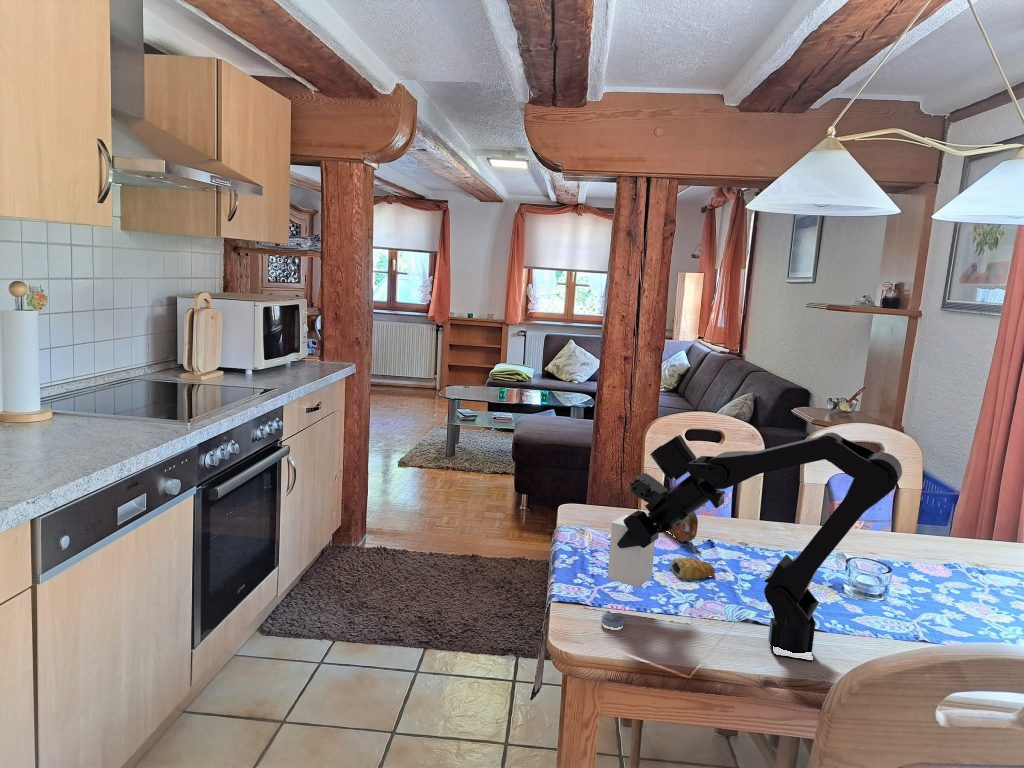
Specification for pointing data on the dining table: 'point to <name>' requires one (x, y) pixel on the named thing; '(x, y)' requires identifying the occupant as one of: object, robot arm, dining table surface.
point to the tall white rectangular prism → (629, 558)
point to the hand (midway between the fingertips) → (626, 541)
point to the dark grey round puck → (612, 620)
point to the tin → (686, 528)
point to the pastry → (691, 568)
